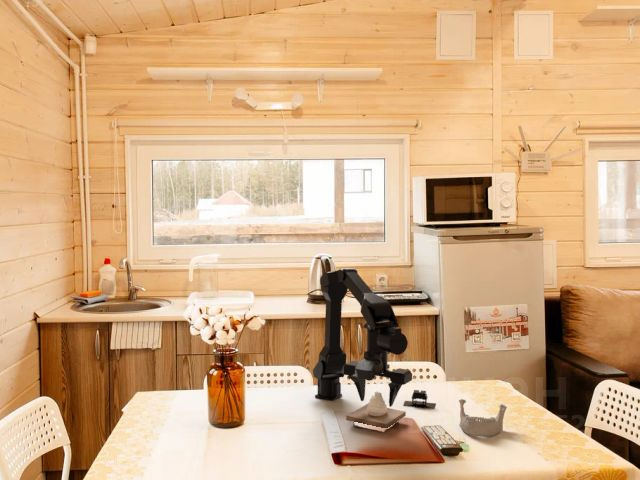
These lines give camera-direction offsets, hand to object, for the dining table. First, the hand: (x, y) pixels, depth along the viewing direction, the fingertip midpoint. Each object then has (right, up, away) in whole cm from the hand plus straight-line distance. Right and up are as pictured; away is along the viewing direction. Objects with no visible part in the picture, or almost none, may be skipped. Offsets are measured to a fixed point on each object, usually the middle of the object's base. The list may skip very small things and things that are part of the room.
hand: (376, 403), depth 168 cm
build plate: (+15, -6, +18) cm, 24 cm away
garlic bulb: (0, -3, 0) cm, 3 cm away
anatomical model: (+27, -7, -4) cm, 28 cm away
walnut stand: (0, -6, 0) cm, 6 cm away
